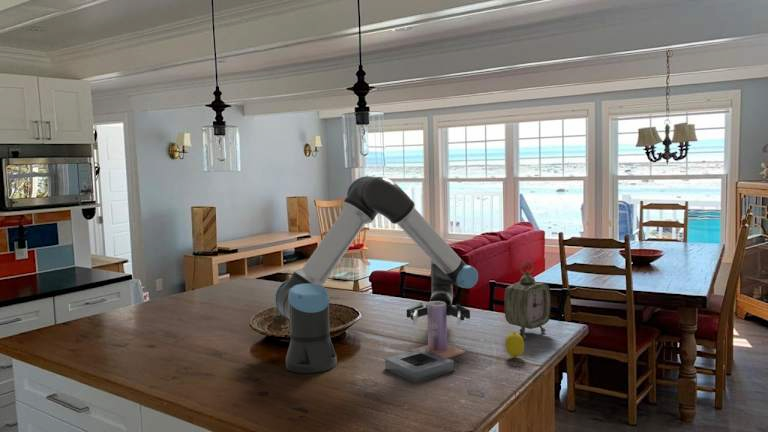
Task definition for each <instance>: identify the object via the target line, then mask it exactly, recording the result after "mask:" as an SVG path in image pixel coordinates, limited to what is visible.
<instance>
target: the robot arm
mask: <svg viewBox="0 0 768 432" xmlns="http://www.w3.org/2000/svg"><path fill="white" fill-rule="evenodd" d="M346 191H347V192H346V197H345V199H344V200H343V202H342V208H343V209H342V211H341V212H340V214H339V215H338V217H337V218H336V219H335V221H334V222H333V224H332V226H331V227H330V228H329V230H328V231H327V233H326V234H325V235H324V237H323V238H322V239H321V241H320V242H319V243H318V245H317V247H316V248H315V249H314V250H313V253H311V255H310V257H309V258H308V259H307V261H306V263H305V264H304V266H303V267H302V269H298V270H294V272H293V273H292V275H290V277H289V278H288V279H287V280H284V281H283V282H281V283H280V284H279V285H278V287H277V288H276V290H275V292H274V298H273V299H274V300H273V302H274V304H275V307H276V310H277V312H278V311H279V314H281V315H283V316H284V317H286V318H287V320H288V322H289V334H290V342H289V346H288V349H287V353H286V356H285V367H286V368H285V369H287V370H288V371H289V372H293V373H297V374H316V373H321V372H326V371H329V370H331V369H333V368H334V367H336V365H338V364H337V363H338V362H337V360H338V359H337V357H338V356H337V354H336V351H335V349H334V346H333V345H334V344H333V343H332V340H331V334H330V331H331V329H330V328H331V327H330V296H329V293H328V290H327V288H326V287H325V286H324V284H325V283H326V281H328V278H329V277H330V276H331V274H332V273H333V272H334V270H335V268H336V266H337V265H338V264H339V262H340V261H341V259H342V258H343V257H344V255H345V254H346V252H347V251H348V250H349V248H350V246H351V245H352V243H353V242H354V241H355V239H356V238H357V236H358V235H359V234H360V231H362V229H363V228H364V226H365V225H368V224H372V222H373V221H374V220H375V218H376V217H377V216H378V214H379V215H382V216H384V217H385V218H387V219H388V221H389V222H390V223H391V224H393V225H397V226H399V228H401V230H403V232H404V233H405V234H406V235H407V236H408V237H409V238H410V239H411V240H412V241H413V243H415V244H416V245H417V246H418V247H419V249H420V250H422V252H423V253H424V254H425V255H426V256H427V257H428V258H429V259H430V261H431V262H430V272H431V273H430V274H431V296H430V300H429V302H431V301H442V302H445V303H446V306H447V317H449V316H451V317H455V318H457V326H461V322H462V321H465V319H471V310H470V309H468V308H466V307H464V306H462V305H461V304H460V303H456V304H455V305H452V304H453V300H454V292H453V288H454V287H453V285H454V286H456V287H459V288H464V289H471V288H473V287H474V286H476V284H477V283H478V280H479V273H478V270H477V269H476V268H475V267H473V266H472V265H468V264H466V262H464V260H463V259H462V258H461V257H460V256H459V255H458V253H456V252H455V251H454V249H453V248H451V246H450V245H449V244H448V243H447V242H446V241H445V239H444V238H442V236H441V235H440V234H439V232H437V230H435V229H434V228H433V226H432V225H431V224H430V223H429V222H428V221H427V220H426V218H424V216H422V214H421V213H420V212H419V211H418V210H417V208H415V205H416V204H415V202H414V201H413V199H411V198H410V196H409V195H408V194H407V193H406V192H405V191H404V190H403V189H402V188H401V187H400V186H399V185H398V184H397V183H396V182H395V181H393V180H392V179H391V178H388V177H383V176H370V175H368V176H361V177H359V178H356V179H354V180H353V181H352V182H351V183H349V186H348V188H347V190H346ZM427 306H428V304H426V305H424V304H423V302H420V303H418V304H417V305H415V306H412V307H409V308H407V309H406V318H410V320H411V321H412V324H413V325H417V321H418V318H420V317H424V316H427Z"/></svg>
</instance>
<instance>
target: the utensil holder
mask: <svg viewBox="0 0 768 432" xmlns="http://www.w3.org/2000/svg"><path fill="white" fill-rule="evenodd" d="M274 310H277V307H276V306H274ZM277 313H278V314H277ZM271 319H272V322H271V330H272V329H273V330H279V331H286V330H289V331H290V322H289V320H288V319H287V318H286V317H284V316H283V315H281V314H280V312H279V311H278V310H277V311H274V314H273V316H272V318H271Z"/></svg>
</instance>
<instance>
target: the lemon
mask: <svg viewBox="0 0 768 432" xmlns="http://www.w3.org/2000/svg"><path fill="white" fill-rule="evenodd" d="M521 336H522V334H519V333H517V332H516V331H513V332H511V333H509V334H508V336H506V339H505V343H504V346H505V350H506V353H507V354H508V355H509V356H511V357H512V358H513V359H517V358H518V357H519V356H521V355H522V354H523V353H524V349H525V341H524V339H523V338H522V337H521Z"/></svg>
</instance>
